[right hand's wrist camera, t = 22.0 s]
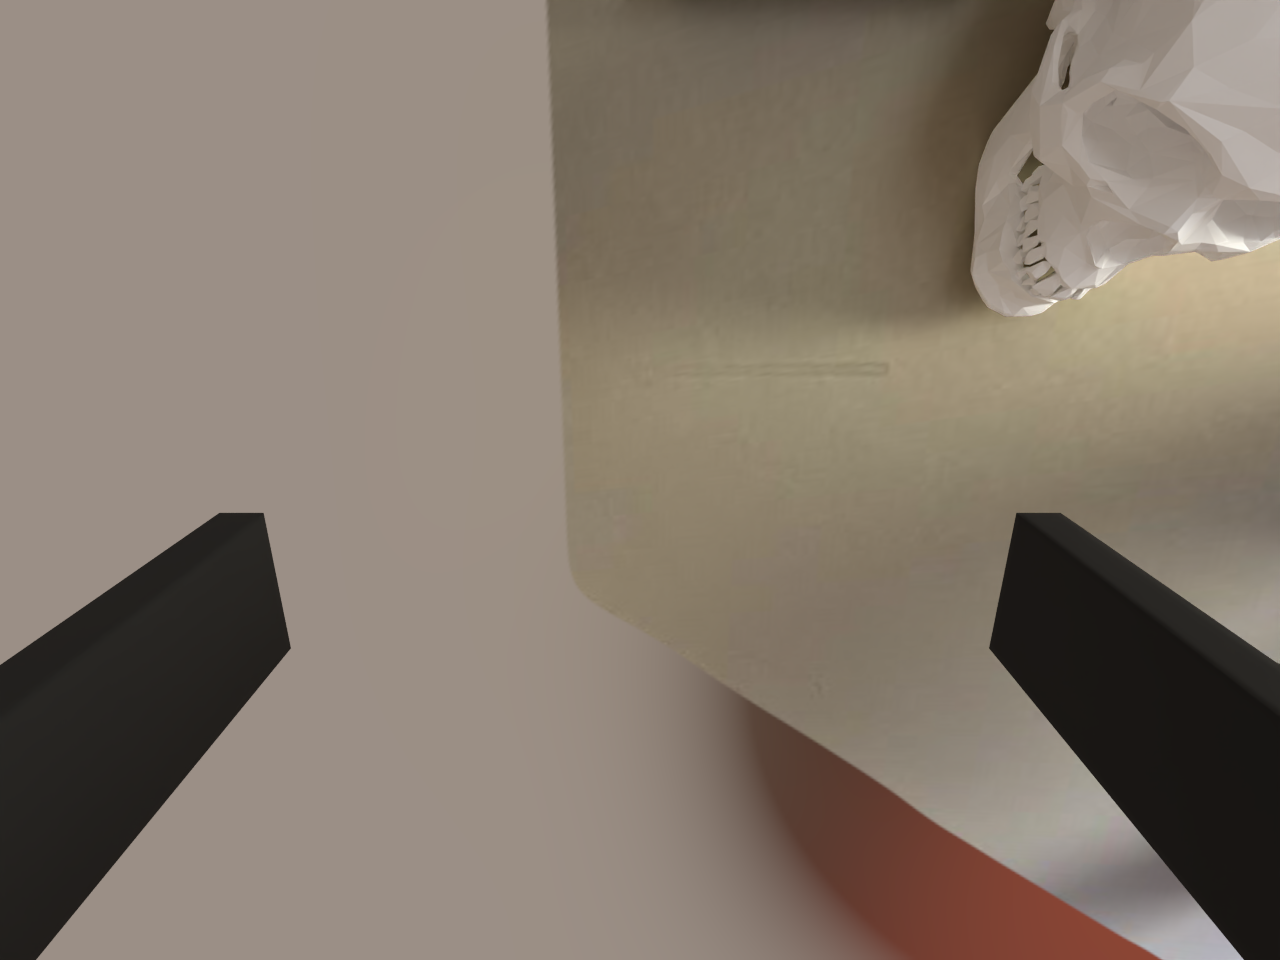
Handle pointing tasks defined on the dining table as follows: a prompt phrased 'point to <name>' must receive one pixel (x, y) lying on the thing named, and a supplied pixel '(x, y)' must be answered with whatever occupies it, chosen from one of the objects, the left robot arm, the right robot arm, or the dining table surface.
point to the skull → (1132, 148)
